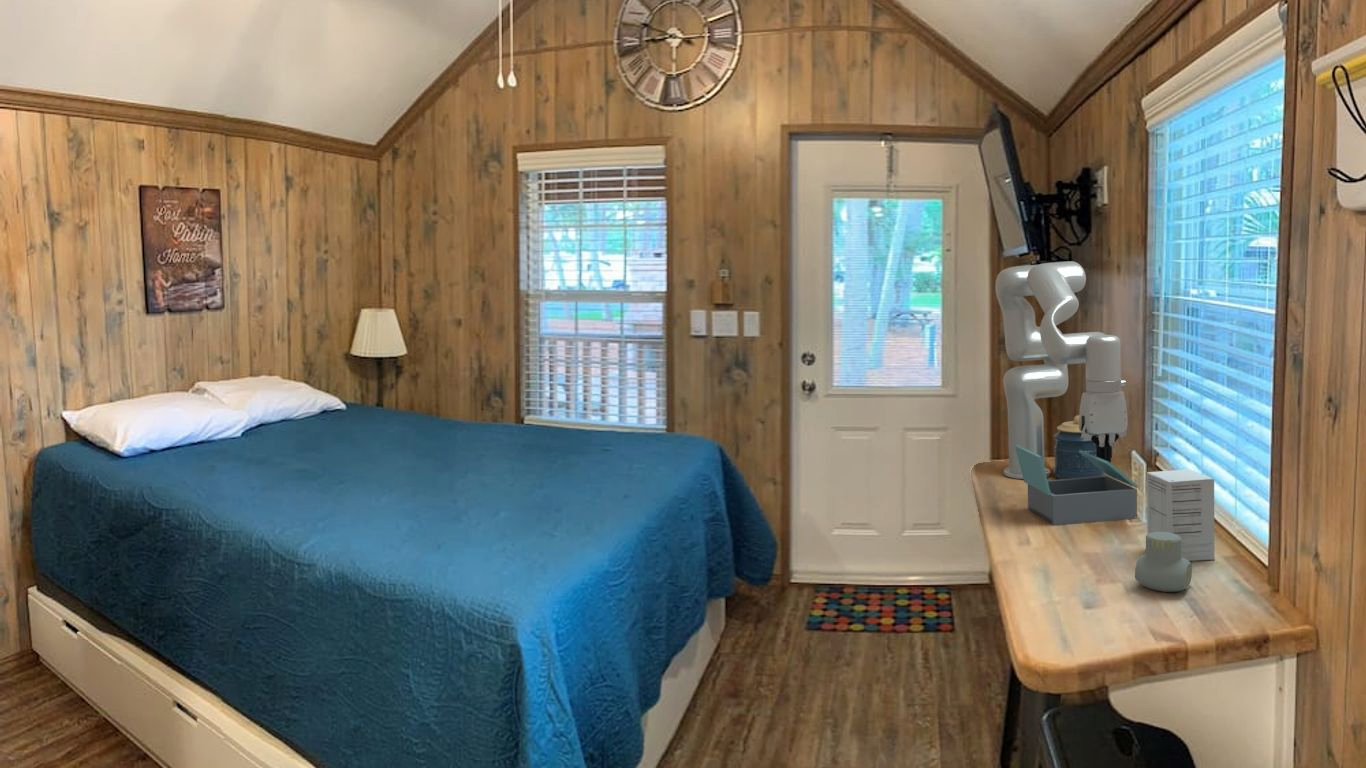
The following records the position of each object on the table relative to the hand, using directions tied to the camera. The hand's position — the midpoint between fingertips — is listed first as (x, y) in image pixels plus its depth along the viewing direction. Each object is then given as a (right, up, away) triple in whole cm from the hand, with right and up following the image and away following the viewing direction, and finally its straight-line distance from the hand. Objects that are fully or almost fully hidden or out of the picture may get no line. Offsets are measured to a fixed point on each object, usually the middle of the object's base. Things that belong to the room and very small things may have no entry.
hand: (1104, 461), depth 211 cm
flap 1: (-17, -2, 0) cm, 17 cm away
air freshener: (-11, -20, -46) cm, 52 cm away
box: (-5, -13, +1) cm, 14 cm away
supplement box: (+1, -17, -30) cm, 34 cm away
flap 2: (+1, -2, 0) cm, 2 cm away
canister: (+10, -8, +35) cm, 37 cm away
